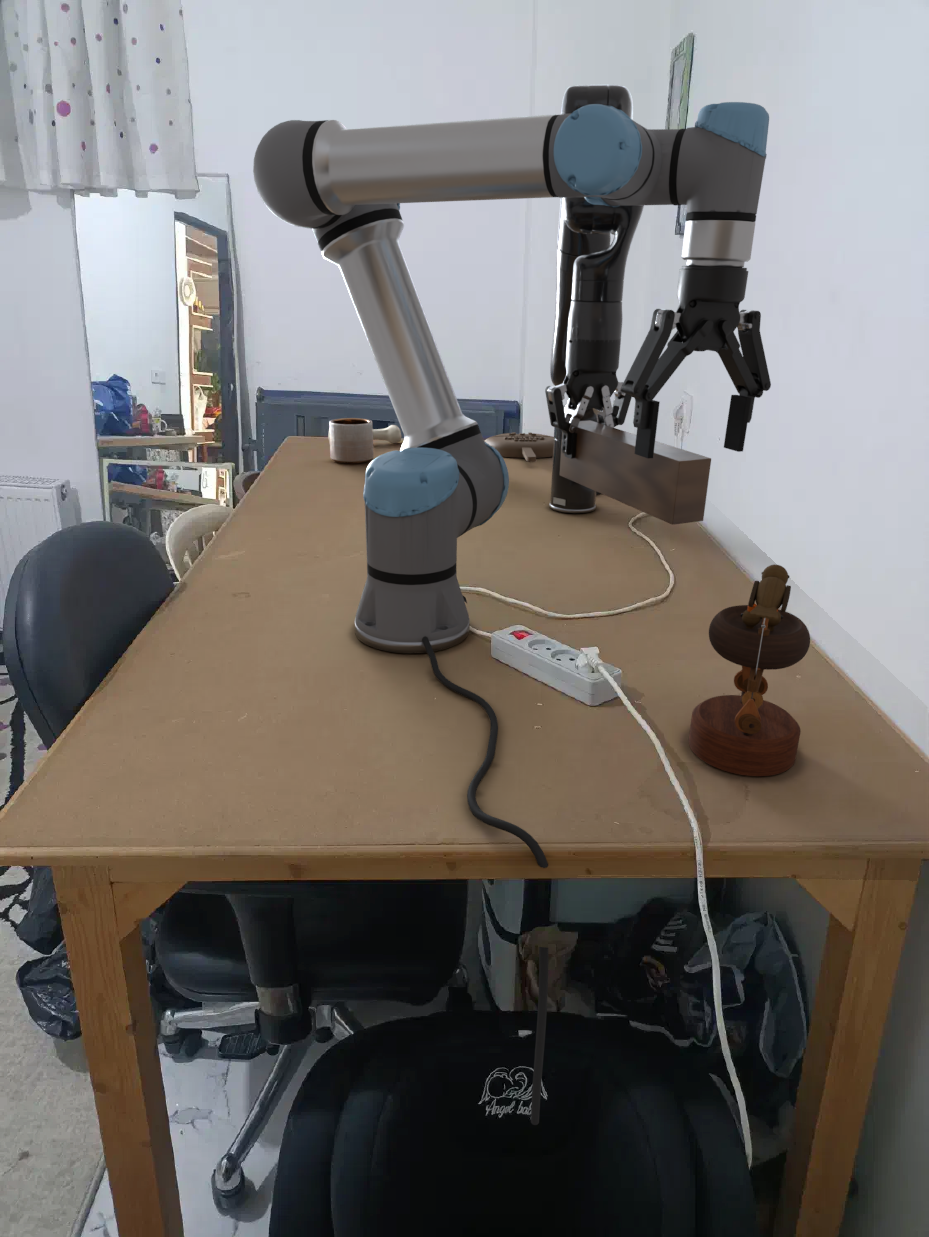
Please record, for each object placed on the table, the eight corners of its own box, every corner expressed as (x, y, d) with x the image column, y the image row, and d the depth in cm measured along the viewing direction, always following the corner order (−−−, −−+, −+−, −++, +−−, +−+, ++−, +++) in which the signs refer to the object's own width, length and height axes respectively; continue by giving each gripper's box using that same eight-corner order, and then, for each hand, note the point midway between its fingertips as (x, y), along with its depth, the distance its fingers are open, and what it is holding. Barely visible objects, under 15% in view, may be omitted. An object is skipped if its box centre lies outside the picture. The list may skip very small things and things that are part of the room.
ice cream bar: (489, 467, 208) (489, 450, 207) (482, 445, 234) (482, 430, 233) (574, 467, 209) (575, 450, 208) (557, 446, 235) (558, 430, 234)
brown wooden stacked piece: (818, 789, 79) (839, 589, 72) (698, 789, 81) (706, 593, 73) (780, 711, 93) (794, 537, 86) (678, 712, 95) (683, 541, 87)
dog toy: (400, 440, 239) (399, 422, 237) (402, 444, 234) (401, 426, 232) (328, 441, 236) (327, 423, 234) (328, 445, 231) (327, 427, 229)
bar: (703, 521, 107) (711, 458, 104) (672, 525, 105) (679, 461, 102) (586, 472, 130) (590, 420, 127) (559, 475, 128) (562, 422, 125)
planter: (327, 456, 217) (325, 418, 214) (369, 454, 220) (368, 417, 217) (334, 465, 208) (332, 425, 204) (377, 463, 211) (376, 424, 207)
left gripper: (775, 267, 103) (747, 441, 111) (602, 260, 93) (586, 452, 101) (822, 268, 97) (789, 452, 105) (642, 261, 87) (621, 465, 95)
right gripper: (621, 332, 124) (612, 447, 131) (536, 334, 119) (530, 454, 126) (652, 336, 118) (640, 457, 125) (563, 338, 113) (556, 465, 119)
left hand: (689, 453), depth 103 cm, fingers open, 13 cm apart
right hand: (585, 455), depth 125 cm, fingers closed on bar, 4 cm apart
